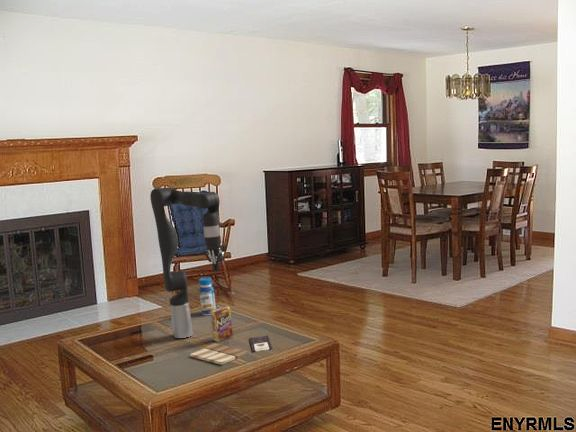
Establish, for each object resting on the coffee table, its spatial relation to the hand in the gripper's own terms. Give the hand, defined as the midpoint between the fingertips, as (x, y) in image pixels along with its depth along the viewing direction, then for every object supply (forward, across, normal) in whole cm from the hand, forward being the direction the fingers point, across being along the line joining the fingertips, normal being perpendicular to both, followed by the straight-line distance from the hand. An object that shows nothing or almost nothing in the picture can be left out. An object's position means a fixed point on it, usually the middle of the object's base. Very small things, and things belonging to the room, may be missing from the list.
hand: (216, 271), depth 277 cm
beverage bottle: (+35, -43, +28) cm, 62 cm away
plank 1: (+35, +4, -16) cm, 39 cm away
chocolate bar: (+36, +18, +6) cm, 40 cm away
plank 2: (+35, +15, -16) cm, 42 cm away
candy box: (+35, -4, +3) cm, 36 cm away
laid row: (+35, +10, -8) cm, 37 cm away
